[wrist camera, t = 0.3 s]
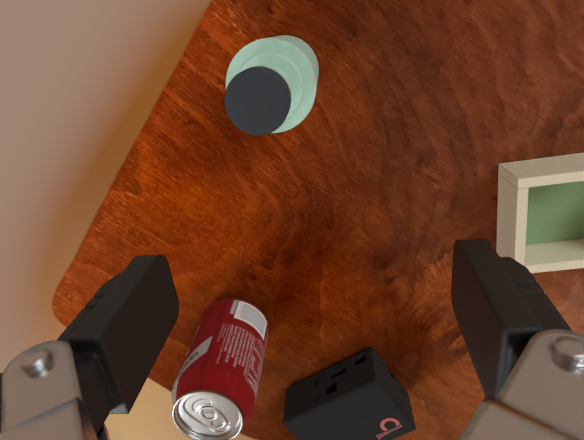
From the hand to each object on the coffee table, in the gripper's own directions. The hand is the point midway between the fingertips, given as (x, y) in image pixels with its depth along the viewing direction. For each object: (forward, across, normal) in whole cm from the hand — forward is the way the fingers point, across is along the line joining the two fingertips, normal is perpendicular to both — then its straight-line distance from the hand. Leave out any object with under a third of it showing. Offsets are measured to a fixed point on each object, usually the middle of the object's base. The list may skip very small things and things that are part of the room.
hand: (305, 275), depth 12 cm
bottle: (+25, +3, -2) cm, 25 cm away
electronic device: (+24, 0, +30) cm, 39 cm away
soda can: (+24, +11, +21) cm, 34 cm away
